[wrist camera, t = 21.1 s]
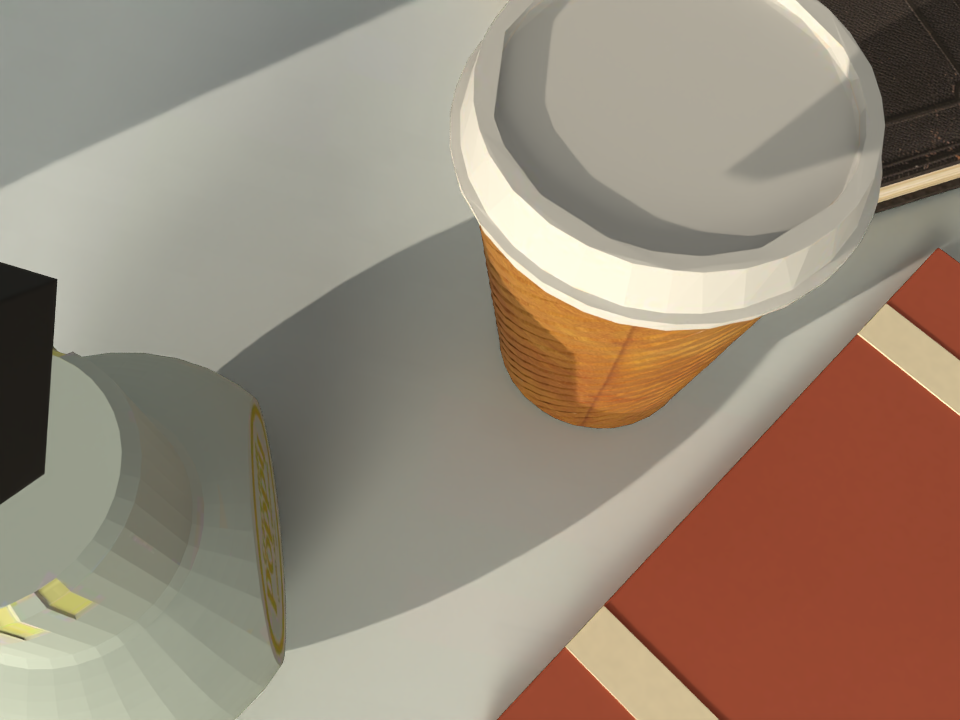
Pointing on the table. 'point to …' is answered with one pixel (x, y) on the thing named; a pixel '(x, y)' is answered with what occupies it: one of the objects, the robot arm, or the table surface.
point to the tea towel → (804, 555)
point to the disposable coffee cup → (658, 184)
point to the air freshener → (142, 549)
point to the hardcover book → (912, 90)
